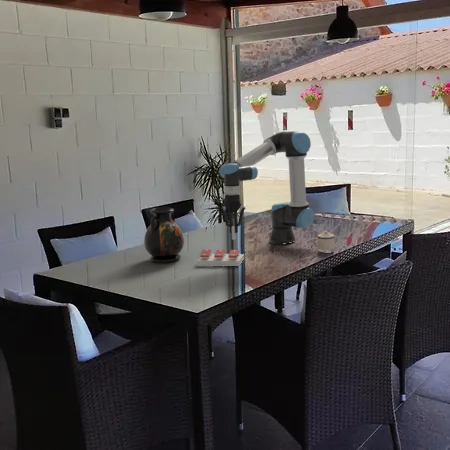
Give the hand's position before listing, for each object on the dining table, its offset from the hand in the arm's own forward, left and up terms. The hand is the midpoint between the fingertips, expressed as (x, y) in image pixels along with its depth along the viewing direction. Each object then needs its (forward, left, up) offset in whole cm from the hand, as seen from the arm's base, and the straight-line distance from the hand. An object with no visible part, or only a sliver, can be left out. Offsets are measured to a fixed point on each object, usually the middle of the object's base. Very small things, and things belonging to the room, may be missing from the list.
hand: (234, 239), depth 303 cm
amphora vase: (+39, -3, -13) cm, 42 cm away
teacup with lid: (-44, -25, -13) cm, 52 cm away
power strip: (+7, +1, -13) cm, 15 cm away
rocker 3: (0, +2, -9) cm, 9 cm away
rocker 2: (+7, +2, -9) cm, 12 cm away
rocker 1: (+15, +2, -9) cm, 17 cm away
